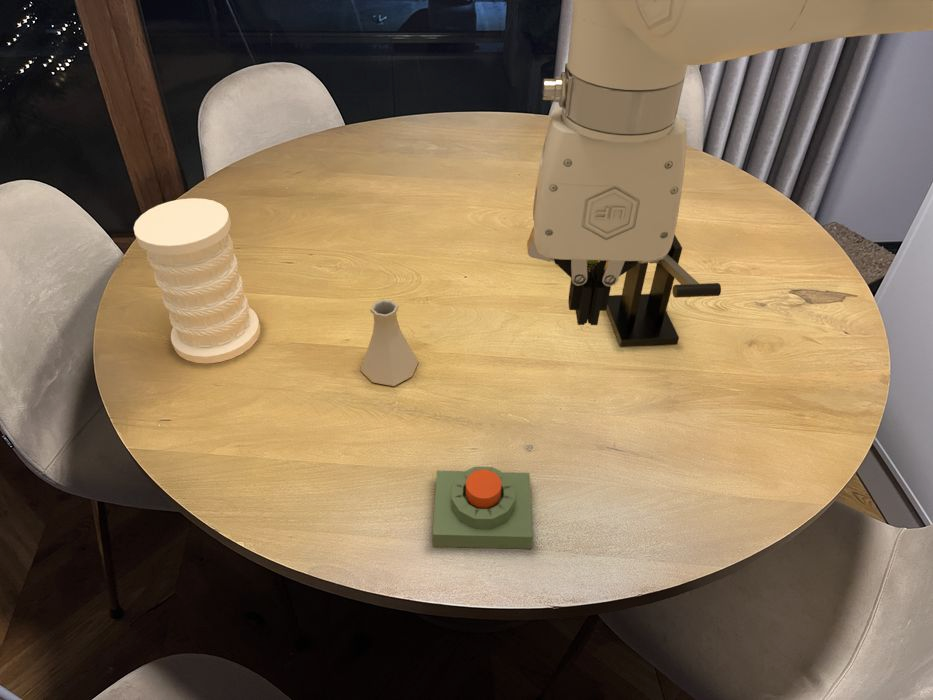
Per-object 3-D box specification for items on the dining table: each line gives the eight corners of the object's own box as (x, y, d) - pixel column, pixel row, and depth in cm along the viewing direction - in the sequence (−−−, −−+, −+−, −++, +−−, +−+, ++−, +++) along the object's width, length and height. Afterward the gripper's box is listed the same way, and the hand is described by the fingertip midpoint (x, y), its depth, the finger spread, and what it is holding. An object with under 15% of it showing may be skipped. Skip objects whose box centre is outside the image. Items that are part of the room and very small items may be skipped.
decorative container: (220, 374, 87) (182, 257, 75) (154, 347, 91) (108, 231, 79) (277, 323, 95) (251, 210, 83) (214, 300, 99) (180, 188, 87)
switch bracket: (677, 344, 92) (701, 260, 83) (619, 346, 92) (638, 262, 83) (656, 299, 100) (676, 217, 91) (603, 301, 99) (618, 219, 90)
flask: (428, 361, 89) (426, 301, 83) (395, 394, 85) (390, 333, 78) (384, 342, 92) (378, 282, 85) (350, 373, 87) (341, 312, 81)
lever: (719, 301, 75) (722, 281, 74) (675, 303, 75) (678, 283, 74) (669, 255, 90) (671, 238, 89) (632, 257, 89) (634, 239, 88)
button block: (527, 485, 74) (530, 461, 72) (531, 549, 68) (534, 526, 66) (437, 482, 75) (436, 459, 72) (432, 546, 69) (431, 524, 66)
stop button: (500, 480, 70) (501, 469, 69) (501, 509, 68) (501, 498, 67) (466, 479, 70) (466, 468, 69) (465, 508, 68) (465, 497, 67)
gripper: (509, 119, 42) (497, 342, 54) (750, 124, 42) (684, 346, 54) (506, 75, 48) (496, 286, 60) (719, 79, 47) (665, 290, 60)
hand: (585, 314), depth 57 cm, fingers closed
